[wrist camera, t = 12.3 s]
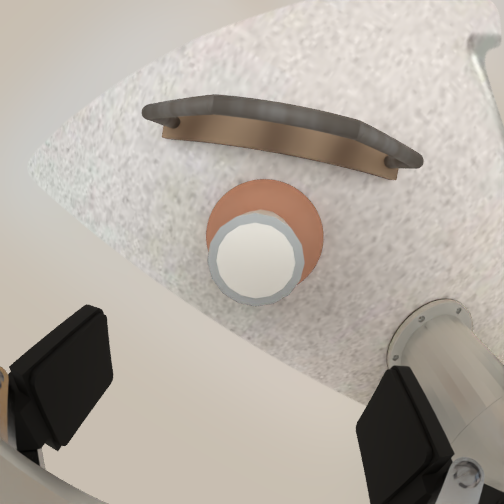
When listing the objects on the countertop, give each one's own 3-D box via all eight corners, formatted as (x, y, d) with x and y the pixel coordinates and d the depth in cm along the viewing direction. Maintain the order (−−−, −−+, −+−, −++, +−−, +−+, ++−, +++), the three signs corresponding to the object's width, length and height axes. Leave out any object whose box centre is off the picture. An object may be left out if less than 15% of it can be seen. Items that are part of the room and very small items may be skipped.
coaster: (343, 249, 27) (345, 251, 26) (253, 309, 30) (253, 313, 29) (276, 155, 25) (276, 155, 25) (186, 225, 28) (183, 227, 27)
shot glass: (261, 288, 28) (255, 323, 21) (209, 238, 27) (188, 261, 20) (313, 240, 26) (324, 263, 20) (261, 187, 25) (255, 192, 19)
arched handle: (395, 150, 24) (462, 142, 13) (390, 179, 25) (456, 187, 14) (172, 109, 25) (111, 78, 14) (167, 138, 26) (101, 123, 15)
